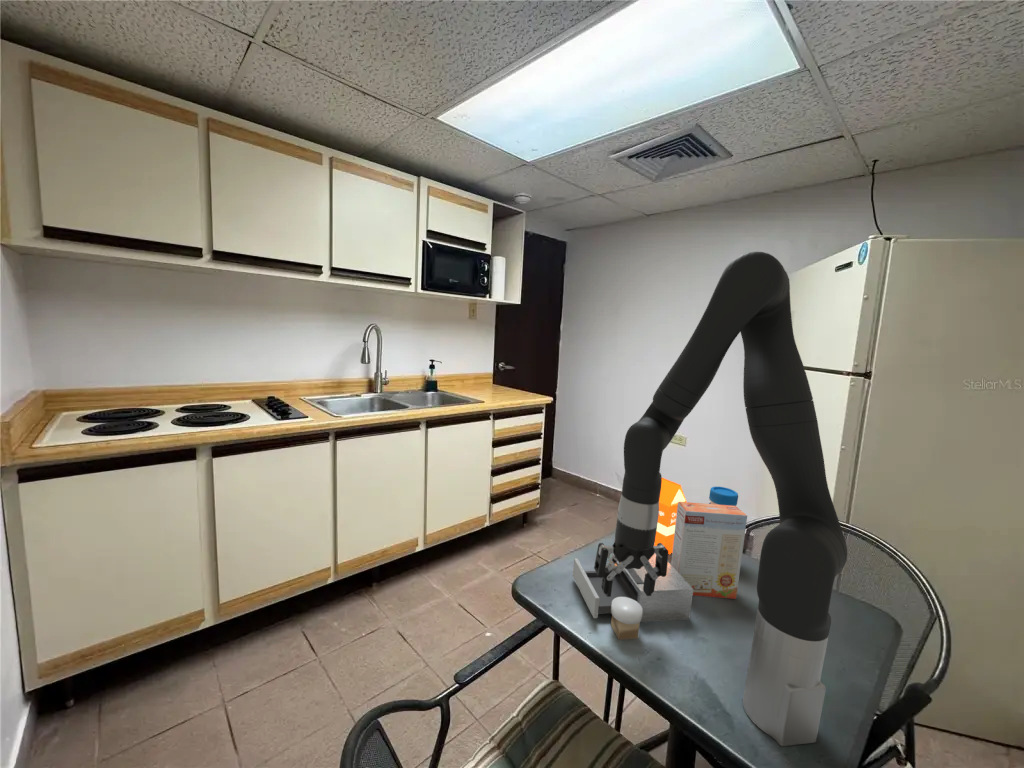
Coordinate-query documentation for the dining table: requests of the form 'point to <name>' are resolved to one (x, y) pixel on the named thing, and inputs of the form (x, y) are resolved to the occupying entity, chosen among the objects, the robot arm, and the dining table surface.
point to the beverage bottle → (723, 496)
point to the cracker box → (709, 547)
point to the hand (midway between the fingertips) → (627, 593)
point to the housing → (661, 594)
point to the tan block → (625, 629)
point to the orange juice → (668, 513)
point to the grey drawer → (600, 589)
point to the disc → (626, 610)
